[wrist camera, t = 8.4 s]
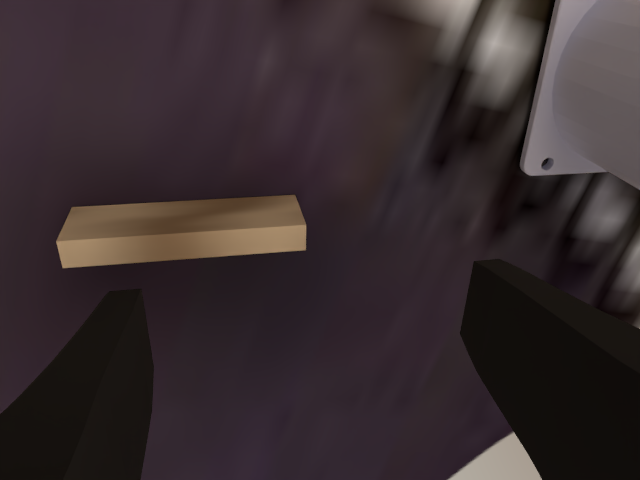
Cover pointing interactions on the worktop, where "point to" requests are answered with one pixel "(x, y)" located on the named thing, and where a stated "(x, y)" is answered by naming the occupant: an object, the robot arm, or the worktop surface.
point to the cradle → (180, 230)
